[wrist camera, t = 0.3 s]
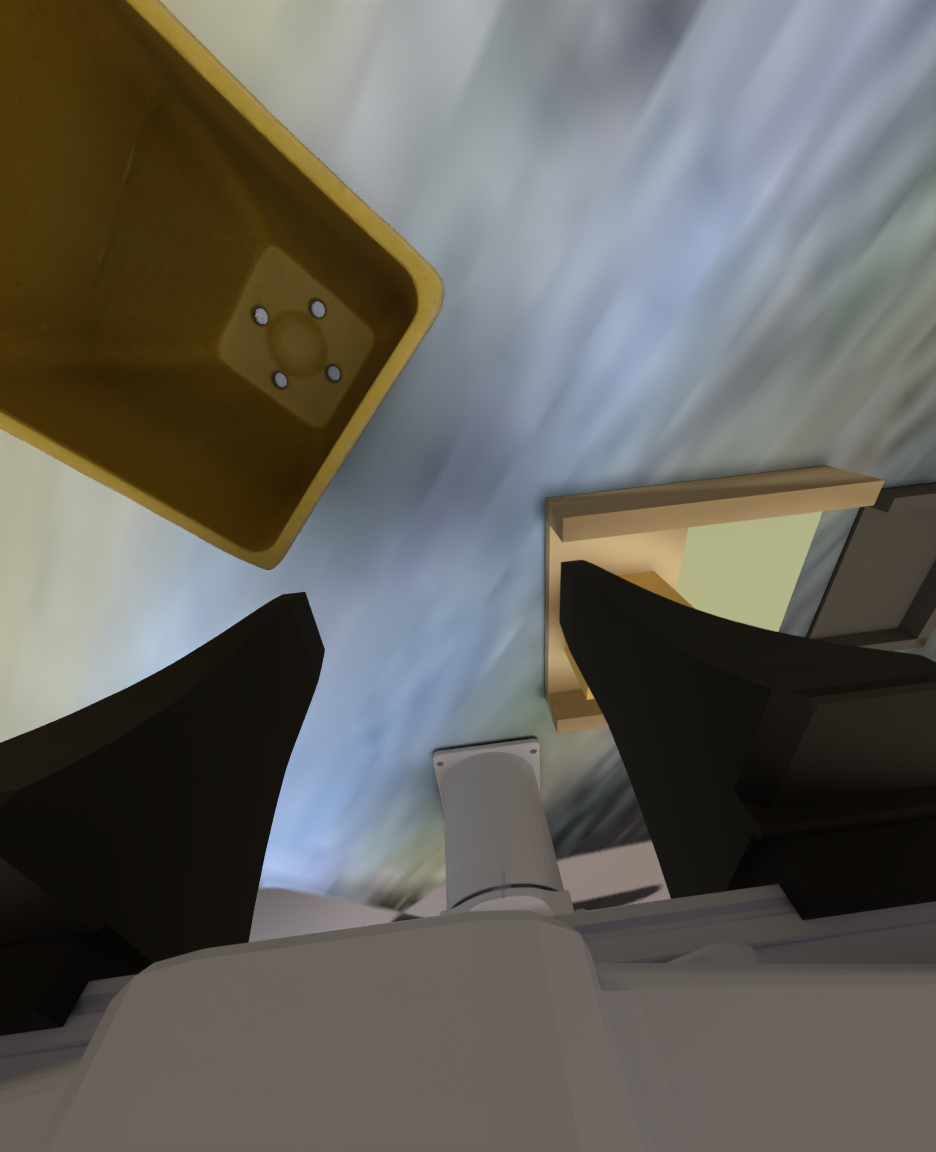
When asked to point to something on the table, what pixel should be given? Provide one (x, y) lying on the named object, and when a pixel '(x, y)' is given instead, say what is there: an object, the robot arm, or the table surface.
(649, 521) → the channel
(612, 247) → the table surface
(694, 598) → the pad
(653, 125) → the table surface
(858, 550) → the pit tray
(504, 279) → the table surface
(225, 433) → the flower pot
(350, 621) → the table surface
